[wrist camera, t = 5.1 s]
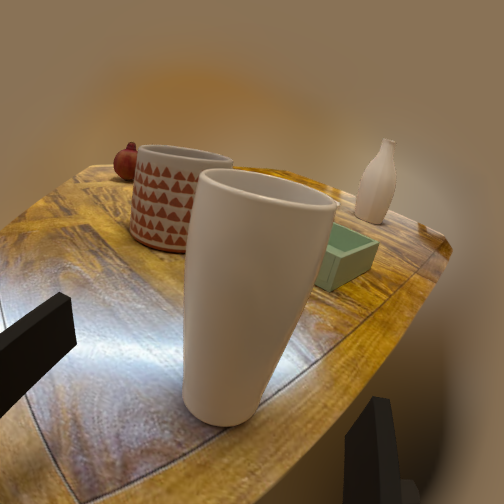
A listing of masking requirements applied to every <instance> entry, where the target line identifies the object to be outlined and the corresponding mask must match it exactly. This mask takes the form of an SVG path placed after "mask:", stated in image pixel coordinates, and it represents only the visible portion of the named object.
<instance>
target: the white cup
mask: <svg viewBox="0 0 504 504" xmlns="http://www.w3.org/2000/svg"><path fill="white" fill-rule="evenodd" d="M336 209H337V204H336V202H335V200H334V199H332V198H331V197H330V196H328V195H326V194H324V193H322V192H320V191H318V190H316V189H313V188H311V187H308V186H305V185H302V184H299V183H296V182H293V181H290V180H286V179H283V178H279V177H275V176H270V175H266V174H261V173H256V172H250V171H243V170H235V169H207V170H204V171H202V172H201V173H200V174H199V178H198V183H197V188H196V192H195V196H194V201H193V206H192V211H191V216H190V222H189V229H188V236H187V244H186V254H185V269H184V310H183V385H182V397H183V401H184V403H185V405H186V407H187V409H188V410H189V411H190V412H191V413H192V414H193V415H194V416H195V417H196V418H198V419H199V420H201V421H203V422H205V423H207V424H210V425H214V426H220V427H229V426H235V425H239V424H241V423H243V422H245V421H247V420H248V419H249V418H251V417H252V416H253V414H254V413H255V412H256V410H257V408H258V405H259V403H260V400H261V397H262V395H263V393H264V391H265V389H266V387H267V385H268V383H269V381H270V379H271V377H272V375H273V372H274V370H275V368H276V366H277V364H278V362H279V360H280V358H281V356H282V354H283V352H284V350H285V348H286V346H287V344H288V342H289V340H290V338H291V335H292V333H293V331H294V329H295V327H296V325H297V323H298V321H299V319H300V316H301V314H302V312H303V310H304V308H305V305H306V303H307V301H308V299H309V296H310V294H311V292H312V289H313V287H314V284H315V282H316V279H317V276H318V274H319V271H320V268H321V265H322V262H323V259H324V255H325V252H326V249H327V245H328V242H329V238H330V234H331V230H332V226H333V222H334V217H335V213H336Z"/></svg>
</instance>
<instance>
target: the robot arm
mask: <svg viewBox="0 0 504 504" xmlns="http://www.w3.org/2000/svg"><path fill="white" fill-rule="evenodd" d="M76 345H77V341H76V335H75V328H74V321H73V313H72V304H71V297H69V296H67V295H65V294H63V293H61V292H58V293H57V294H55V295H54V296H52V297H51V298H49V299H48V300H47V301H45V302H44V303H42V304H41V305H39V306H38V307H36V308H35V309H34V310H32V311H31V312H29V313H28V314H26V315H25V316H24V317H22V318H21V319H19V320H18V321H17V322H15V323H14V324H13V325H11V326H10V327H8V328H7V329H6V330H4V331H3V332H2V333H0V418H1V417H2V416H3V415H4V414H5V413H6V412H7V411H8V410H9V409H10V408H11V407H12V406H13V405H14V404H15V403H16V402H17V401H18V400H19V399H20V398H21V397H22V396H23V395H24V394H25V393H26V392H27V391H28V390H29V389H30V388H31V387H32V386H34V385H35V384H36V383H37V382H38V381H39V380H40V379H41V378H42V377H43V376H44V375H45V374H46V373H47V372H48V371H49V370H50V369H51V368H52V367H53V366H54V365H55V364H56V363H58V362H59V361H60V360H61V359H62V358H63V357H64V356H65V355H66V354H67V353H68V352H69V351H70V350H71V349H73V348H74V347H75V346H76ZM344 463H345V464H344V487H343V504H420V498H419V491H418V489H417V487H416V485H415V483H414V481H413V480H400V472H399V462H398V454H397V445H396V437H395V430H394V423H393V417H392V410H391V404H390V400H389V399H386V398H380V397H374V396H373V397H372V398H371V400H370V401H369V403H368V404H367V406H366V407H365V409H364V410H363V412H362V413H361V414H360V416H359V418H358V419H357V420H356V422H355V423H354V424H353V426H352V427H351V429H350V430H349V431H348V433H347V434H346V435H345V461H344Z"/></svg>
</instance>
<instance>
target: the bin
mask: <svg viewBox="0 0 504 504" xmlns="http://www.w3.org/2000/svg"><path fill="white" fill-rule="evenodd" d="M379 243H380V242H378V241H376V240H374V239H371V238H369V237H367V236H365V235H362V234H360V233H358V232H355V231H353V230H351V229H349V228H346V227H344V226H342V225H339V224H337V223H335V222H333V226H332V230H331V234H330V238H329V242H328V245H327V249H326V252H325V255H324V259H323V262H322V265H321V268H320V271H319V274H318V276H317V279H316V282H315V285H317V286H319V287H321V288H322V289H324V290H326V291H328V292H331V291H333V290H334V289H336V288H338V287H340V286H342V285H343V284H345V283H347V282H349V281H350V280H352V279H354V278H355V277H357V276H359V275H361V274H362V273H364V272H366V271H367V270H369V269H370V268H371V266H372V263H373V260H374V257H375V255H376V252H377V249H378V246H379Z"/></svg>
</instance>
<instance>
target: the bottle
mask: <svg viewBox="0 0 504 504" xmlns="http://www.w3.org/2000/svg"><path fill="white" fill-rule="evenodd" d="M395 145H396V142H394V141H392V140H388V139H384V138H383V139H382V144H381V148H380V150H379V153H378V154H377V156H375V158H373V160H372V161H371V162H370V163H369V164H368V166H367V167H366V169H365V171H364V173H363V175H362V178H361V180H360V185H359V189H358V193H357V198H356V205H355V212H354V213H355V216H356V217H357V218H359V219H361V220H364V221H366V222H369V223H373V224H381V223H382V221H383V219H384V217H385V215H386V213H387V211H388V208H389V206H390V204H391V201H392V198H393V195H394V192H395V186H396V169H395V165H394V161H393V155H394V150H395Z"/></svg>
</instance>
